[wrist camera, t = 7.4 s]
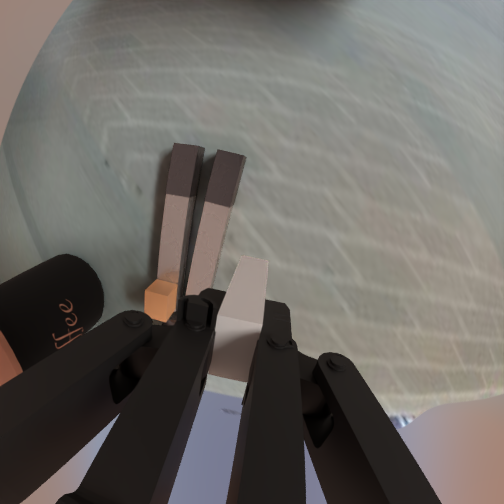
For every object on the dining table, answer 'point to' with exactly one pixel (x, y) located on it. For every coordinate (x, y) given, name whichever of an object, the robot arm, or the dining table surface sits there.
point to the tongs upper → (215, 220)
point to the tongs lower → (178, 216)
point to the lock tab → (160, 300)
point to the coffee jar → (46, 311)
